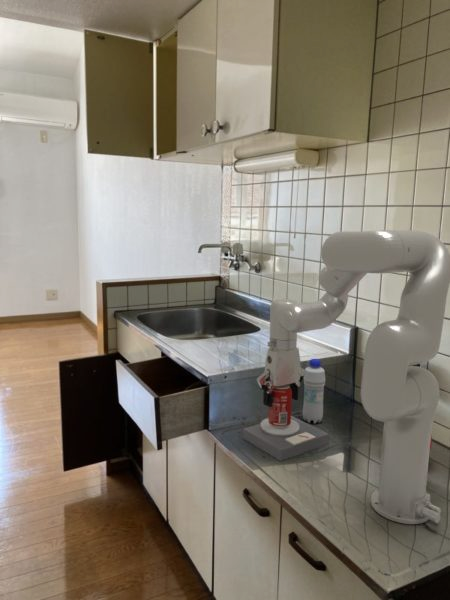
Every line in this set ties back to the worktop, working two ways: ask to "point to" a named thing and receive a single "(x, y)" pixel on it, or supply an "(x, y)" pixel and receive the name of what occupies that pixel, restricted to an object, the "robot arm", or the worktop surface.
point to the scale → (285, 438)
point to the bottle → (313, 392)
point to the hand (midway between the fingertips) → (280, 402)
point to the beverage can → (281, 407)
